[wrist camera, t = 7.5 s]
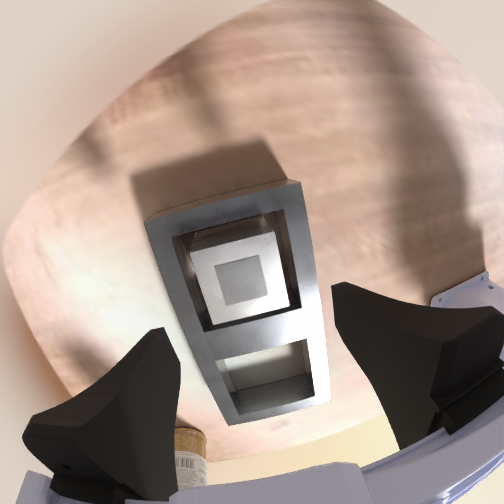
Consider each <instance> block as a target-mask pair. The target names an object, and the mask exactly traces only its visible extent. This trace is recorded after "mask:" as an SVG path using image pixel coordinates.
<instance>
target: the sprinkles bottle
mask: <svg viewBox="0 0 504 504" xmlns="http://www.w3.org/2000/svg"><path fill="white" fill-rule="evenodd" d="M174 441H175V464H176V475H177V483H178V490H181V489H184V488H191V487H197V486H206V485H207V462H206V443H207V439H206V437H205V435H203V434H202V433H200V432H199V431H196V430H194V429H191V428H175V431H174Z"/></svg>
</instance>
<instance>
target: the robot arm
mask: <svg viewBox="0 0 504 504" xmlns="http://www.w3.org/2000/svg"><path fill="white" fill-rule="evenodd" d="M331 289H332V298H333V308H334V319H335V326H336V328H337V330H338V332H339V334H340V336H341V338H342V340H343V342H344V344H345V345H346V347H347V348H348V350H349V351H350V353H351V354H352V356H353V357H354V359H355V360H356V362H357V363H358V364H359V366H360V367H361V369H362V370H363V372H364V373H365V375H366V376H367V378H368V379H369V381H370V383H371V384H372V386H373V388H374V390H375V392H376V394H377V396H378V398H379V400H380V402H381V405H382V407H383V409H384V411H385V413H386V416H387V418H388V420H389V423H390V425H391V428H392V430H393V432H394V435H395V437H396V440H397V443H398V446H399V449H400V451H399V452H396V453H394V454H392V455H390V456H388V457H386V458H383V459H381V460H379V461H376V462H374V463H371V464H369V465H366V466H364V467H361V468H360V467H359V466H358V465H357V464H355V463H347V462H333V463H329V464H324V465H319V466H313V467H310V468H306V469H302V470H299V471H295V472H290V473H286V474H281V475H277V476H272V477H267V478H262V479H256V480H250V481H243V482H235V483H227V484H218V485H206V486H197V487H191V488H184V489H181V490H178V483H177V475H176V464H175V441H174V431H175V420H176V412H177V405H178V398H179V390H180V383H181V368H180V361H179V359H178V357H177V355H176V353H175V351H174V349H173V347H172V344H171V342H170V340H169V338H168V336H167V333H166V331H165V329H164V327H162V328H157V329H152V330H150V331H149V332H148V333H146V334H145V335H144V336H143V337H142V338H141V339H140V341H139V342H138V343H137V344H136V345H135V346H134V347H133V348H132V349H131V350H130V351H129V352H128V353H127V354H126V355H125V356H124V357H123V358H122V359H121V360H120V361H119V362H118V363H117V364H116V365H115V366H114V367H113V368H112V369H111V370H110V371H109V372H108V373H107V374H105V375H104V376H103V377H102V378H101V379H99V380H98V381H97V382H95V383H94V384H93V385H91V386H90V387H88V388H87V389H85V390H84V391H82V392H81V393H79V394H78V395H76V396H75V397H73V398H71V399H70V400H68V401H66V402H64V403H62V404H60V405H58V406H56V407H54V408H51V409H49V410H46V411H44V412H41V413H38V414H36V415H33V416H32V418H31V419H30V421H29V423H28V425H27V427H26V429H25V431H24V433H23V435H22V439H23V442H24V444H25V446H26V447H27V449H28V450H29V451H30V452H31V453H32V454H33V455H34V456H35V457H36V458H37V459H38V460H40V461H41V462H42V463H43V464H44V465H45V466H46V467H47V468H49V469H50V470H51V471H52V472H53V473H54V475H53V478H50V477H48V476H46V475H43V474H39V473H36V472H33V471H30V470H28V471H27V473H26V475H25V478H24V481H23V484H22V486H21V489H20V492H19V495H18V498H17V501H16V504H451V503H453V502H454V501H456V500H457V499H458V498H460V497H461V496H463V495H464V494H466V493H467V492H468V491H470V490H471V489H472V488H474V487H475V486H476V485H477V484H479V483H480V482H481V481H482V480H484V479H485V478H486V477H487V476H488V475H490V474H491V473H492V472H493V471H494V470H495V469H497V467H499V466H500V465H501V464H502V463H503V462H504V288H502V287H500V286H499V285H497V284H495V283H494V282H492V281H490V280H489V272H488V271H485V272H483V273H481V274H479V275H477V276H475V277H473V278H471V279H469V280H467V281H465V282H463V283H461V284H459V285H457V286H455V287H453V288H451V289H449V290H447V291H444V292H442V293H440V294H438V295H436V296H434V297H433V298H432V300H431V306H430V307H429V306H422V305H417V304H412V303H407V302H403V301H399V300H396V299H392V298H389V297H386V296H383V295H380V294H377V293H374V292H372V291H369V290H366V289H364V288H361V287H359V286H356V285H353V284H350V283H347V282H341V283H338V284H335V285H331Z"/></svg>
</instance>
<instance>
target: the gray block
mask: <svg viewBox="0 0 504 504" xmlns="http://www.w3.org/2000/svg"><path fill="white" fill-rule="evenodd" d="M190 256H191V260H192V263H193V266H194V269H195V272H196V275H197V278H198V281H199V284H200V287H201V290H202V293H203V296H204V299H205V302H206V305H207V308H208V311H209V314H210V317H211V320H212V322H213V325H215V324H219V323H224V322H228V321H232V320H236V319H241V318H245V317H249V316H253V315H257V314H261V313H264V312H268V311H272V310H276V309H280V308H283V307H287V306H289V301H288V296H287V290H286V285H285V280H284V275H283V270H282V265H281V260H280V255H279V250H278V246H277V241H276V236H275V231H274V230H273V229H272V227H271V226H270V225H269V224H268V222H267V221H266V220H265V218H264V217H263V216H262V215H260V216H256V217H252V218H248V219H244V220H240V221H236V222H232V223H228V224H224V225H220V226H216V227H213V228H209V229H205V230H201V231H197V232H196V233H195V237H194V240H193V243H192V246H191V250H190Z"/></svg>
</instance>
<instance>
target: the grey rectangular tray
mask: <svg viewBox="0 0 504 504" xmlns="http://www.w3.org/2000/svg"><path fill="white" fill-rule="evenodd" d="M272 211H276V213H277V218H278V223H279V228H280V233H281V238H282V243H283V247H284V252H285V258H286V263H287V268H288V273H289V278H290V283H291V288H290V289H286V290H287V296H288V301H289V306H287V307H283V308H280V309H276V310H272V311H268V312H264V313H261V314H257V315H253V316H249V317H245V318H241V319H236V320H232V321H228V322H224V323H219V324H215V325H213V322H212V320H211V317H210V314H209V311H208V309H207V310H205V308H204V305H203V302H202V299H201V296H200V293H199V290H198V287H197V284H196V281H195V278H194V275H193V272H192V269H191V266H190V263H189V260H188V257H187V253H186V250H185V247H184V244H183V240H182V237H181V235H182V234H186V233H189V232H193V231H197V230H201V229H204V228H208V227H212V226H216V225H220V224H224V223H227V222H231V221H235V220H239V219H243V218H247V217H251V216H255V215H260V214H264V213H268V212H272ZM144 225H145V228H146V231H147V234H148V237H149V240H150V243H151V246H152V249H153V252H154V255H155V258H156V261H157V264H158V267H159V270H160V272H161V275H162V278H163V281H164V283H165V286H166V289H167V291H168V294H169V297H170V299H171V302H172V304H173V307H174V310H175V312H176V315H177V317H178V320H179V322H180V324H181V327H182V329H183V332H184V334H185V336H186V339H187V341H188V343H189V346H190V348H191V350H192V352H193V355H194V357H195V359H196V361H197V364H198V366H199V368H200V370H201V372H202V374H203V377H204V379H205V381H206V383H207V385H208V387H209V389H210V391H211V393H212V395H213V397H214V399H215V401H216V403H217V405H218V407H219V409H220V411H221V413H222V415H223V417H224V419H225V421H226V422H227V424H228V426H230V425H236V424H241V423H246V422H251V421H256V420H261V419H265V418H269V417H274V416H278V415H282V414H286V413H289V412H293V411H297V410H300V409H304V408H307V407H311V406H314V405H317V404H320V403H323V402H326V401H330V390H329V377H328V366H327V355H326V345H325V336H324V327H323V318H322V310H321V302H320V295H319V287H318V280H317V273H316V266H315V260H314V253H313V247H312V241H311V235H310V229H309V223H308V218H307V212H306V207H305V201H304V196H303V191H302V186H301V182H298V181H295V180H291V179H285V180H280V181H276V182H271V183H267V184H262V185H258V186H254V187H250V188H245V189H241V190H237V191H233V192H229V193H225V194H221V195H217V196H213V197H210V198H206V199H202V200H198V201H195V202H191V203H187V204H184V205H180V206H177V207H173V208H170V209H166V210H163V211H159V212H156V213H154V214H153V215H152V216H151V217H150V218H148V219H147V220H146V221H145V222H144ZM298 340H301V345H302V351H303V357H304V363H305V369H306V374H302V375H299V376H295V377H292V378H288V379H285V380H281V381H277V382H273V383H269V384H265V385H261V386H257V387H252V388H248V389H243V390H239V391H236V389H235V387H234V384H233V382H232V380H231V377H230V375H229V372H228V370H227V367H226V364H225V362H224V359H226V358H231V357H235V356H240V355H244V354H248V353H252V352H257V351H261V350H265V349H269V348H272V347H276V346H280V345H284V344H287V343H291V342H294V341H298Z"/></svg>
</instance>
